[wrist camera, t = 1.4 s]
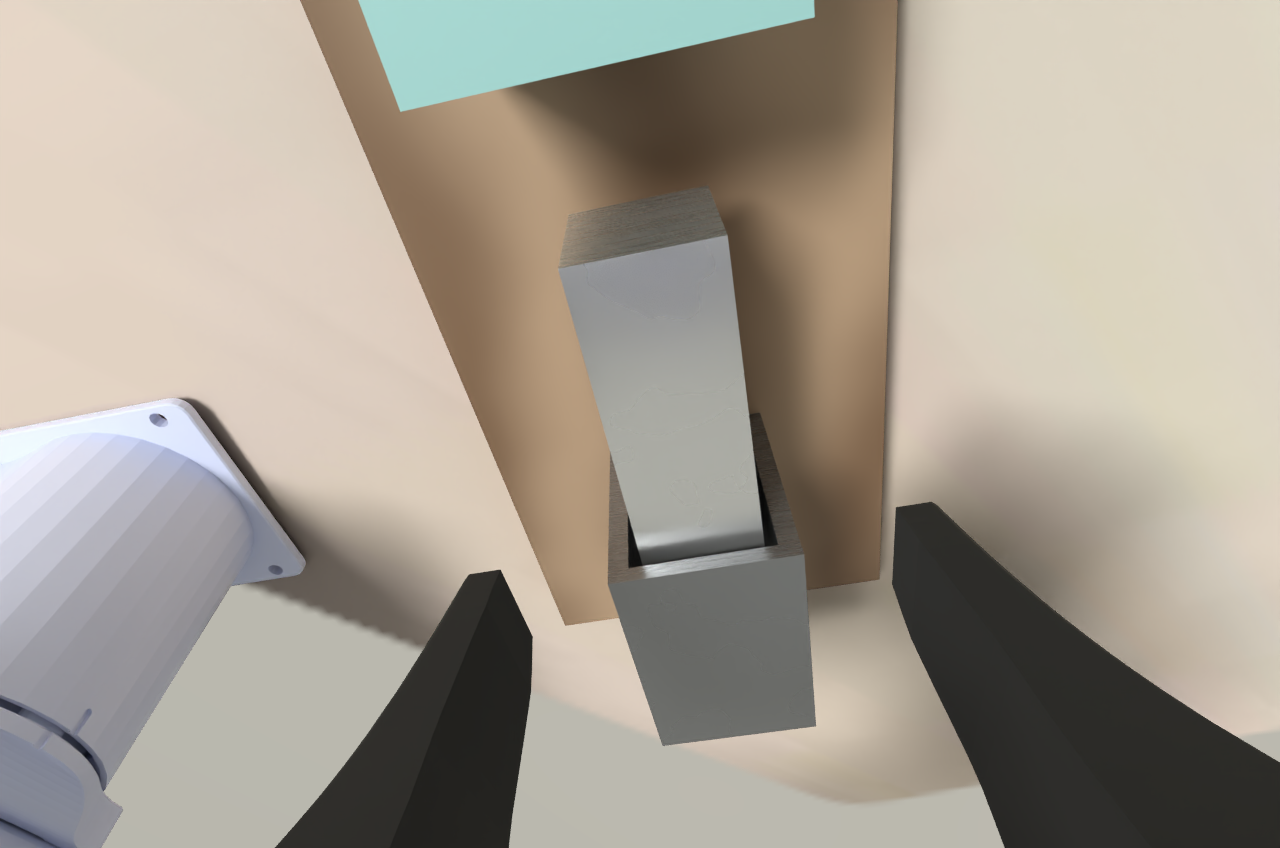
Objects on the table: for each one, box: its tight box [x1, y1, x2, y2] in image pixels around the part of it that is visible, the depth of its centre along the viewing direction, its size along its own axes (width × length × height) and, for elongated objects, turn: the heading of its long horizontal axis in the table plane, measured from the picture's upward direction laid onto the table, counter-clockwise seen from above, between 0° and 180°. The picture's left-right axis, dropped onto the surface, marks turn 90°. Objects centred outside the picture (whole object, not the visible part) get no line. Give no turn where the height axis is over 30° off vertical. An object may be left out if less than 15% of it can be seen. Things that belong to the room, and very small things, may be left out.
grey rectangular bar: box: [558, 185, 765, 566], centre depth 16 cm, size 3×13×3 cm, turn 11°
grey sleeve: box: [608, 412, 816, 746], centre depth 19 cm, size 5×8×6 cm, turn 11°
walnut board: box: [300, 0, 898, 626], centre depth 18 cm, size 12×24×2 cm, turn 11°
